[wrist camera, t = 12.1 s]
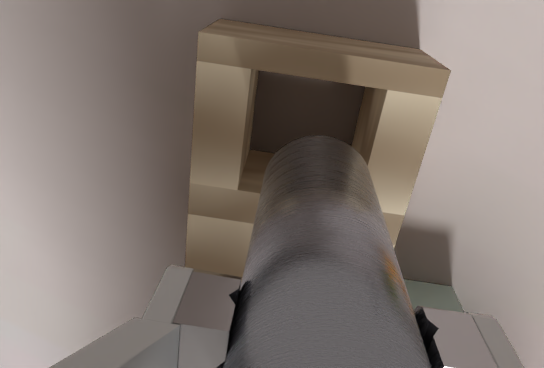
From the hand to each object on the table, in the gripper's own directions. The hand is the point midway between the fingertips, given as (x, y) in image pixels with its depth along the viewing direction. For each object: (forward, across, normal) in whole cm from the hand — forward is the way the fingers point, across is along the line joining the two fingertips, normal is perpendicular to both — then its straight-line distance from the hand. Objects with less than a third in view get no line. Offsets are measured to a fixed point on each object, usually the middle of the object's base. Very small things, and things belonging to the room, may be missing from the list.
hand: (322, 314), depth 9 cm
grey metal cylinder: (+6, 0, 0) cm, 6 cm away
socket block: (+14, 0, +3) cm, 14 cm away
